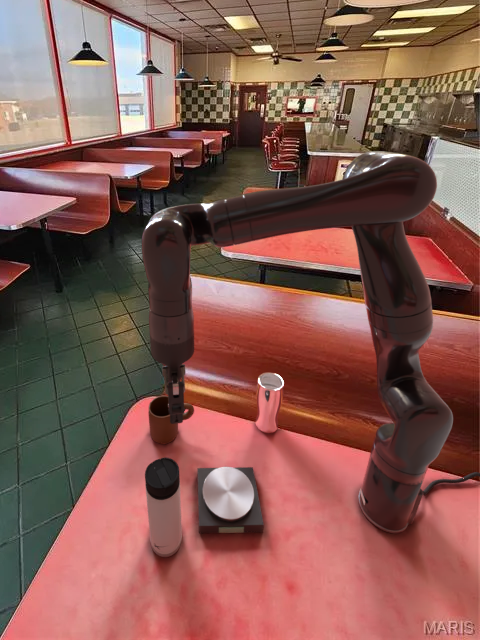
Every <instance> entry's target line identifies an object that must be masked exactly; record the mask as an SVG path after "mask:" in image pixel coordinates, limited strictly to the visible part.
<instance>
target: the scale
mask: <svg viewBox="0 0 480 640" xmlns="http://www.w3.org/2000/svg"><path fill="white" fill-rule="evenodd" d="M217 468H218V467H197V469H196V471H197V507H198V508H197V512H198V513H197V515H198V534H238V533H239V534H240V533H242V534H243V533H264V528H265V527H264V526H265V524H264V519H263V514H262V508H261V503H260V498H259V492H258V487H257V482H256V476H255V471H254V467H252V466H247V467H246V466H245V467H234V468H235V469H238V470H239V471H241V472H242V473H244V474H245V475H246V476H247V478H248V479H249V480H250V482H251V484H252V487H253V490H254V502H253V506H252V509H251V510H250V512H249V513H248V514H247V516H245V517H244V518H242V519H241V520H238V521H234V522H227V521H223V520H220V519H218V518H217V517H215V516H214V515H213V514H212V513H211V512H210V511H209V510H208V508H207V507H206V505H205V502H204V499H203V485H204V481H205V479H206V477H207V476H208V475H209V474H210V473H211V472H212V471H213V470H215V469H217Z"/></svg>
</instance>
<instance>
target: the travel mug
mask: <svg viewBox="0 0 480 640" xmlns="http://www.w3.org/2000/svg"><path fill="white" fill-rule="evenodd" d="M144 472H145V473H144V481H145V495H146V496H145V497H146V508H147V517H148V518H147V519H148V528H149V529H148V531H149V541H150V546H151V549H152V551H153V553H154V554H156V555H157V556H158V557H161V558H168V557H171V556H173V555H174V554H176V553H177V552H178V551H179V549H180V547H181V545H182V540H183V539H182V538H183V529H182V526H183V525H182V501H181V479H180V476H181V475H180V467H179V464H178V463H177V462H176V461H175V460H174V459H172V458H170V457H161V458H158V459H155V460H153V461H152V462H150V463H149V464H148V465H147V467H146V468H145V470H144Z"/></svg>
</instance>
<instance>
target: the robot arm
mask: <svg viewBox="0 0 480 640" xmlns="http://www.w3.org/2000/svg"><path fill="white" fill-rule="evenodd" d="M437 180H438V179H437V176H436V173H435V170H434V169H433V168H432V167H431V166H430V165H429V164H428V163H427V162H426V161H424V160H423V159H421V158H418V157H416V156H413V155H410V154H406V153H398V152H392V151H381V150H380V151H379V150H373V151H366V152H363V153H361V154H359V155H358V156H356V157H355V158H354V159H352V160H351V162H350V163H348V165H347V167H346V169H345V171H344V173H343V174H342V179H339V180H335V181H330V182H325V183H320V184H314V185H308V186H299V187H290V188H275V189H274V188H273V189H264V190H258V191H251V192H247V193H243V194H239V195H233V196H230V197H226V198H221V199H218V200H215V201H210V202H201V203H198V202H197V203H189V204H180V205H175V206H170V207H166V208H163V209H160V210H158V211H157V212H155V213H154V214H153V215H152V216H151V218H150V219H149V221H148V222H147V224H146V226H145V228H144V229H143V232H142V236H141V255H142V263H143V267H144V271H145V276H146V279H147V285H148V286H147V291H148V304H149V306H148V307H149V309H148V310H149V311H148V329H149V330H148V331H149V344H150V353H151V357H152V358H153V359H154V361H156V362H157V363H159V364H161V365H162V366H161V368H162V371H161V372H162V377H163V378H164V379H163V380H164V381H163V382H164V393H165V395H166V396H168V400H169V404H168V407H169V409H168V413H169V415H170V423H171V424H178V425H179V424H182V423H183V422H184V420H183V414H184V413H185V412H186V410H185V408H184V403H185V392H186V381H185V376H186V374H187V373H186V364H185V363H186V362H188V361H189V360H190V359H191V358H192V357H193V356H194V354H195V315H194V308H193V282H192V278H191V253H192V252H191V251H192V249H191V248H192V246H200V245H206V244H207V245H208V244H210V245H211V244H212V245H213V246H214V247H215V248H229V247H234V246H239V245H243V244H247V243H252V242H257V241H261V240H266V239H271V238H275V237H276V238H277V237H280V236H286V235H292V234H298V233H304V232H311V231H317V230H319V231H320V230H326V229H336V228H344V227H351V229H352V232H353V237H354V240H355V244H356V249H357V256H358V263H359V264H358V266H359V271H360V279H361V283H362V289H363V290H362V291H363V298H364V305H365V312H366V316H367V321H368V326H369V330H370V335H371V340H372V344H373V349H374V353H375V358H376V359H375V360H376V389H377V396H378V399H379V401H380V402H379V403H381V405H382V408H383V409H384V410H385V412H386V413H387V415H388V416H389V418H390V420H391V421H392V422H386V423H383V424H381V425H380V426H379V427H377V429H376V431H375V434H374V439H373V443H372V446H371V450H370V454H369V457H368V461H367V465H366V468H365V472H364V476H363V480H362V483H361V486H360V488H359V492H358V495H357V497H358V499H357V500H358V505H359V508H360V510H361V512H362V513H363V514H364V516H365V518H366V519H367V520H368V521H369V522H370V523H371V524H372V525H373V526H375V527H376V528H378V529H379V530H381V531H383V532H386V533H390V534H401V533H403V532H404V531H405V530H406V529H407V528H408V525H413V524H414V521H415V518H416V515H417V512H418V510H419V507H420V505H421V501H422V499H423V497H424V496H426V495H428V494H429V493H430V491H431V490H432V489H433V488H434V487H435V486H437V485H439V484H460V483H464V482H467V481H468V480H471V479H473V478H475V477H479V478H480V472H478V471H474V472H471V473H469V474H467V475H464V476H463V477H459V478H456V479H455V478H454V479H453V478H439V479H436V480H433V481H431V482H430V483H429V484H428V485H427V486H426V488H425V489H422V485H423V482H424V479H425V477H426V474H427V471H428V469H429V466H430V465H431V464H432V463H433V462H434V461H435V460H437V458H438V457H439V455H440V453H441V451H442V449H443V447H444V445H445V443H446V441H447V439H448V437H449V435H450V433H451V430H452V428H453V423H454V414H453V412H452V409H451V408H450V406H449V405H448V404H447V403H446V401H444V400H443V399H442V397H441V396H440V395H439V393H437V392H436V391H435V389H434V388H433V387H432V386H431V385H430V384H429V382H428V381H427V379H426V377H425V376H424V373H423V370H422V366H421V360H420V349H422V348H423V346H424V345H425V344H426V343H427V342H428V340H429V339H430V337H431V334H432V332H433V329H434V313H433V304H432V296H431V290H430V287H429V284H428V282H427V279H426V277H425V275H424V272H423V270H422V267H421V266H420V264H419V262H418V260H417V257H416V256H415V254H414V252H413V250H412V248H411V246H410V243H409V241H408V238H407V236H406V232H405V227H404V222H407V221H410V220H412V219H414V218H416V217H418V216H419V215H420V214H422V213H423V212H424V211H425V210H426V209H427V208H428V207H429V206H430V205H431V203H432V202H433V200H434V198H435V195H436V193H437V188H438V181H437ZM463 478H464V479H463Z"/></svg>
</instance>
